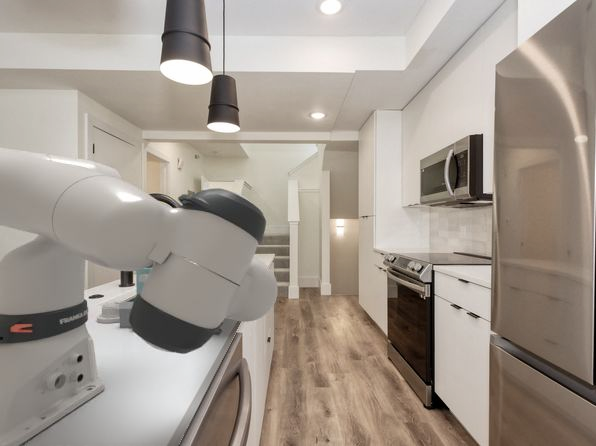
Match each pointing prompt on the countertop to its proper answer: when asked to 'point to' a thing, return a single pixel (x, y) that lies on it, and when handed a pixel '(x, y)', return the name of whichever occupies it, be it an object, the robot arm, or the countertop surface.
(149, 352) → the countertop surface
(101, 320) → the mechanical component
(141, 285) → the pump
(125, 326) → the motor
